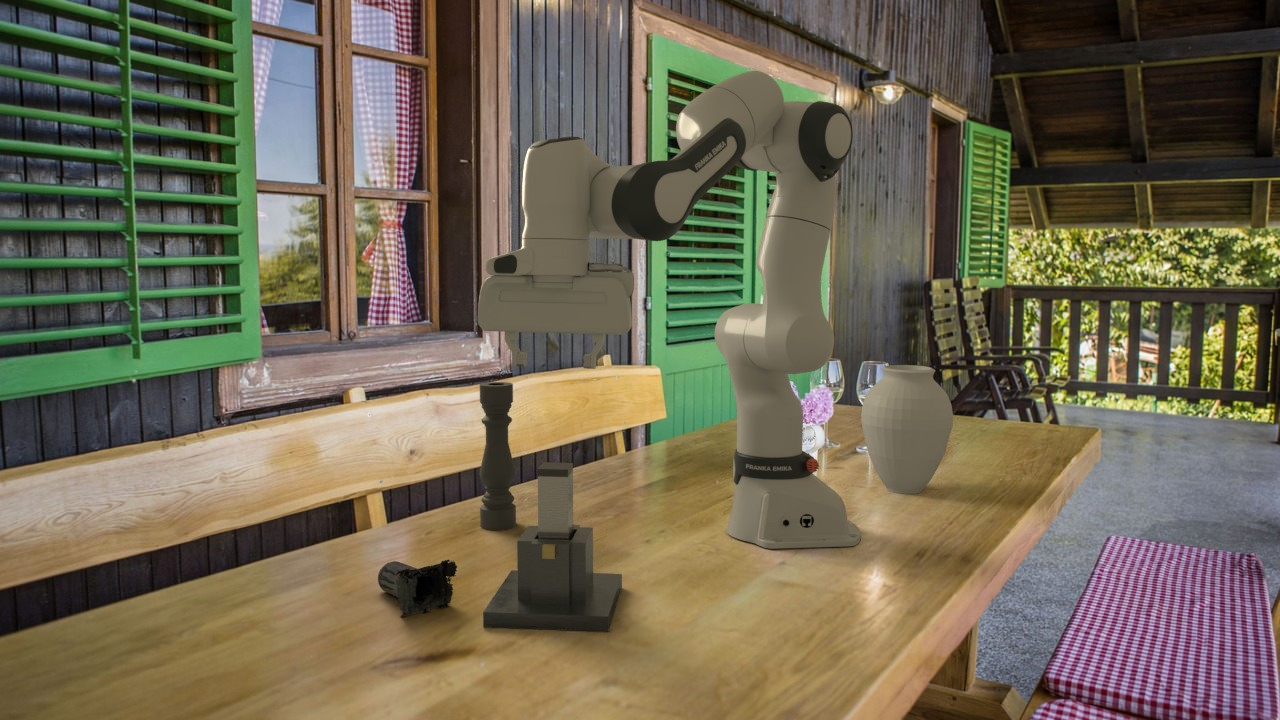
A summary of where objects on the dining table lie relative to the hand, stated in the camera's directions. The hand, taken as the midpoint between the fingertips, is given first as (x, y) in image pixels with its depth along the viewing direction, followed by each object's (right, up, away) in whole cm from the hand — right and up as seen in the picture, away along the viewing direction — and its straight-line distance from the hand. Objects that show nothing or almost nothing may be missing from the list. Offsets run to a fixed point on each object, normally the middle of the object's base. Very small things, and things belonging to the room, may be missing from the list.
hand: (554, 367), depth 124 cm
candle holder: (-14, -28, +41) cm, 51 cm away
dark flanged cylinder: (-20, -33, +5) cm, 39 cm away
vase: (+65, -26, +67) cm, 96 cm away
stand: (0, -32, +2) cm, 32 cm away
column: (0, -30, +2) cm, 30 cm away
